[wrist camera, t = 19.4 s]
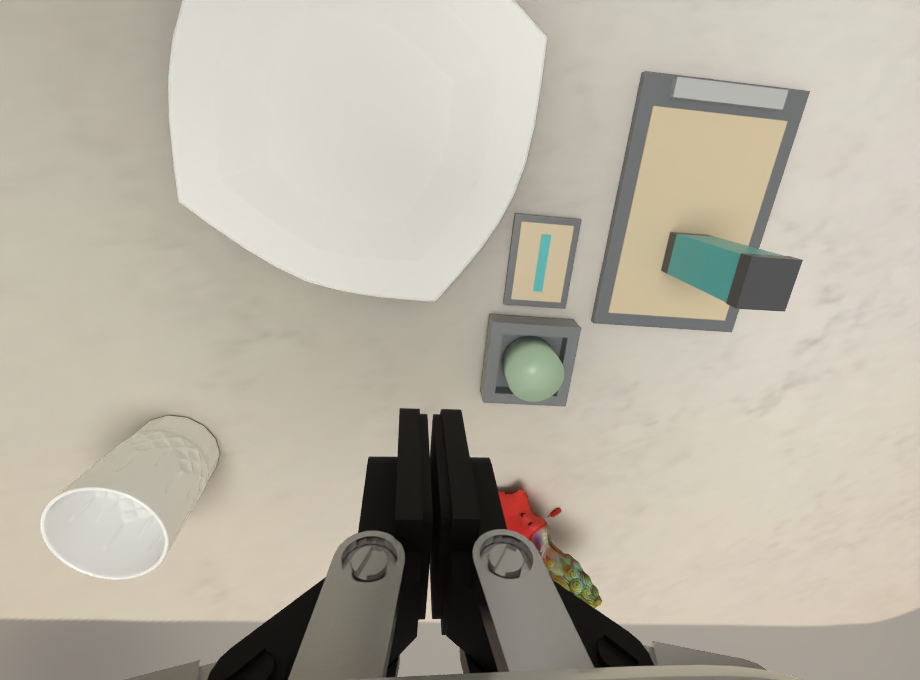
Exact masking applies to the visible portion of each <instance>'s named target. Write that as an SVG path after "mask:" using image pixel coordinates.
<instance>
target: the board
mask: <svg viewBox="0 0 920 680" xmlns="http://www.w3.org/2000/svg"><path fill="white" fill-rule="evenodd" d="M809 92H810V91H804V90H795V89H787V88H779V87H771V86H762V85H754V84H746V83H738V82H729V81H721V80H713V79H705V78H696V77H688V76H680V75H672V74H663V73H655V72H647V71H645V72H643V73H642V75H641V80H640V85H639V90H638V94H637V99H636V104H635V109H634V114H633V119H632V124H631V129H630V133H629V138H628V143H627V148H626V153H625V158H624V163H623V168H622V173H621V177H620V182H619V187H618V192H617V197H616V202H615V207H614V212H613V217H612V221H611V226H610V231H609V236H608V241H607V246H606V251H605V256H604V261H603V265H602V270H601V275H600V280H599V285H598V290H597V295H596V300H595V304H594V309H593V314H592V319H591V321H592V322H593V323H599V324H615V325H630V326H645V327H661V328H676V329H691V330H706V331H722V332H732V330H733V327H734V324H735V321H736V318H737V315H738V312H739V309H736V308H734V307H732V306H730V305H728V304H726V302H724V301H722V300H720V299H718V298H716V297H714V296H712V295H710V294H708V293H706V292H704V291H701V290H699V289H697V288H695V287H693V286H691V285H689V284H687V283H685V282H683V281H681V280H679V279H677V278H675V277H673V276H671V275H669V274H667V273H665V272H662V271H661V268H662V264H663V260H664V255H665V251H666V247H667V243H668V239H669V234H670V232H678V233H692V234H706V235H711V236H714V237H718V238H721V239H725V240H729V241H732V242H736V243H739V244H743V245H747V246H750V247H754V248H757V249H759V247H760V244H761V241H762V238H763V234H764V231H765V228H766V225H767V222H768V219H769V216H770V213H771V210H772V207H773V204H774V200H775V197H776V194H777V191H778V188H779V185H780V182H781V179H782V176H783V173H784V170H785V167H786V163H787V160H788V157H789V154H790V151H791V148H792V145H793V142H794V139H795V136H796V133H797V130H798V126H799V123H800V120H801V117H802V114H803V111H804V108H805V105H806V102H807V99H808V96H809Z"/></svg>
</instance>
